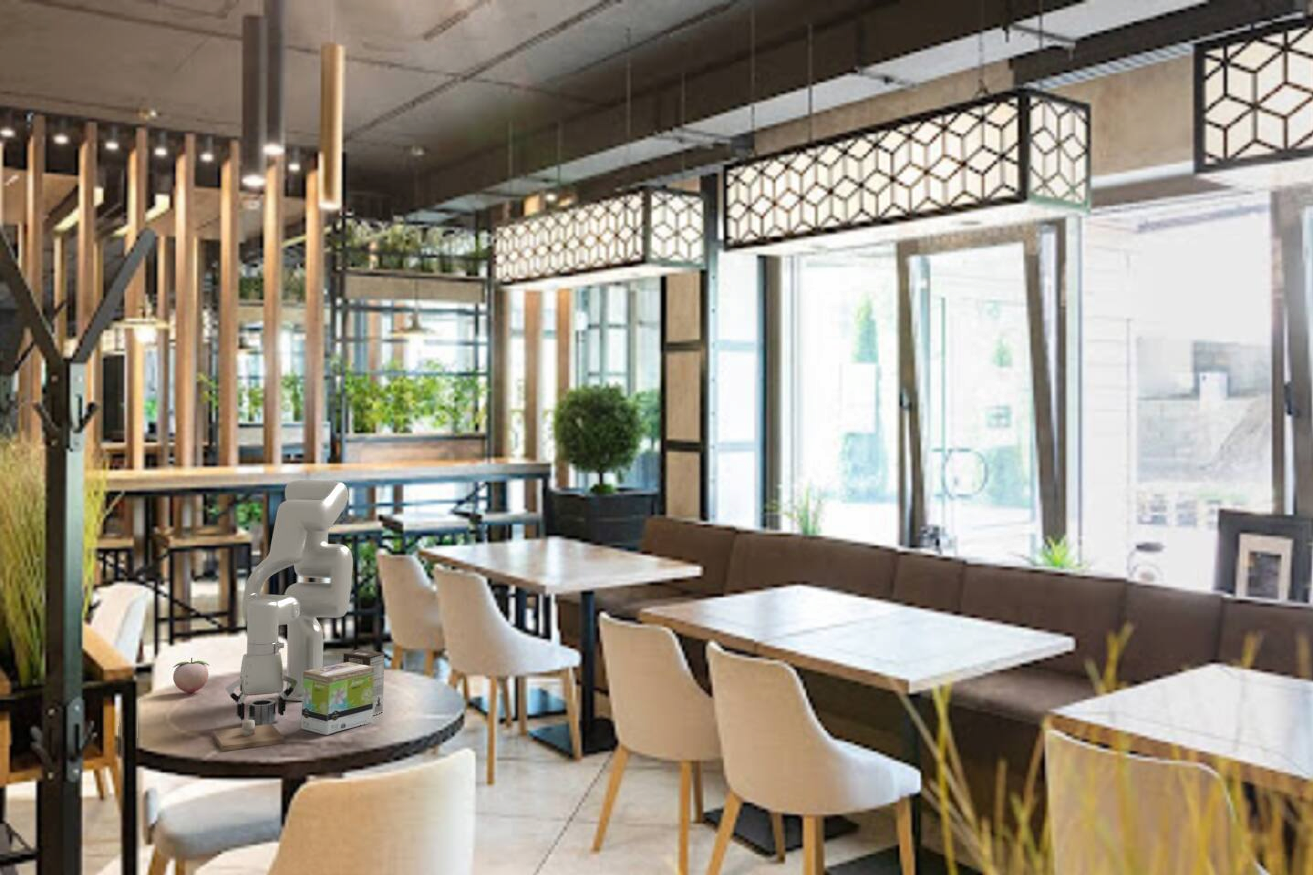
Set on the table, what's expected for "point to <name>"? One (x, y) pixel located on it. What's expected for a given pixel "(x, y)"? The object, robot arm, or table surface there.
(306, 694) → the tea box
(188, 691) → the decorative fruit
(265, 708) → the grey hollow cylinder
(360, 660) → the coffee box
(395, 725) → the table surface
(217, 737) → the shaft base
